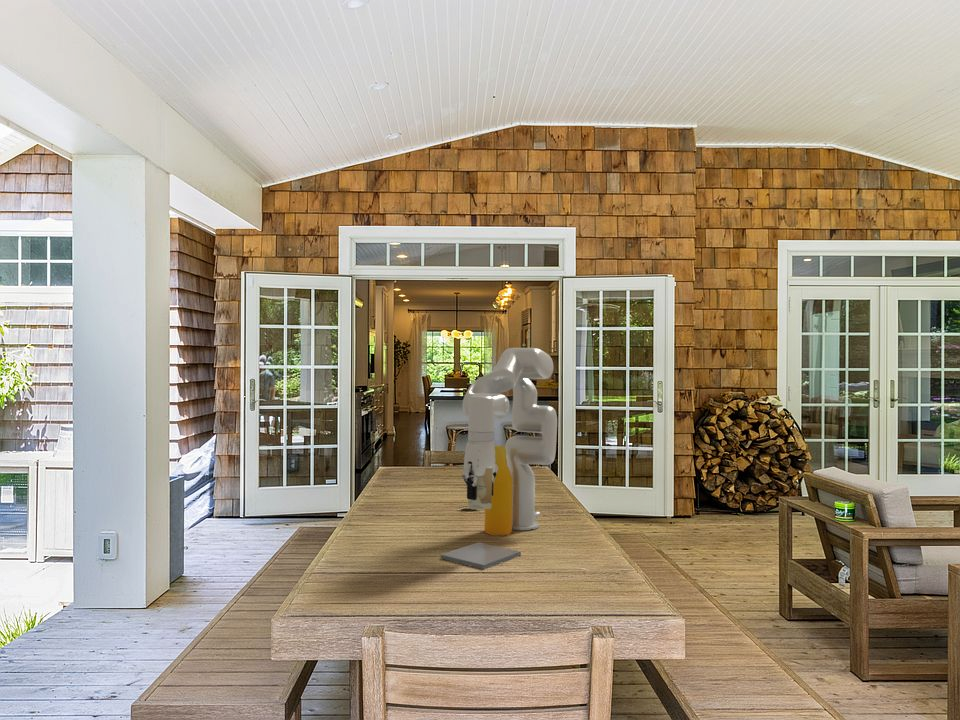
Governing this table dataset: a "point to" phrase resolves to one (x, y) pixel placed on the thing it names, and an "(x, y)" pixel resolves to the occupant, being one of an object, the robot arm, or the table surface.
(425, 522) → the table surface
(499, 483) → the beer bottle
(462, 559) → the slate board
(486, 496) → the skincare box
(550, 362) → the robot arm
